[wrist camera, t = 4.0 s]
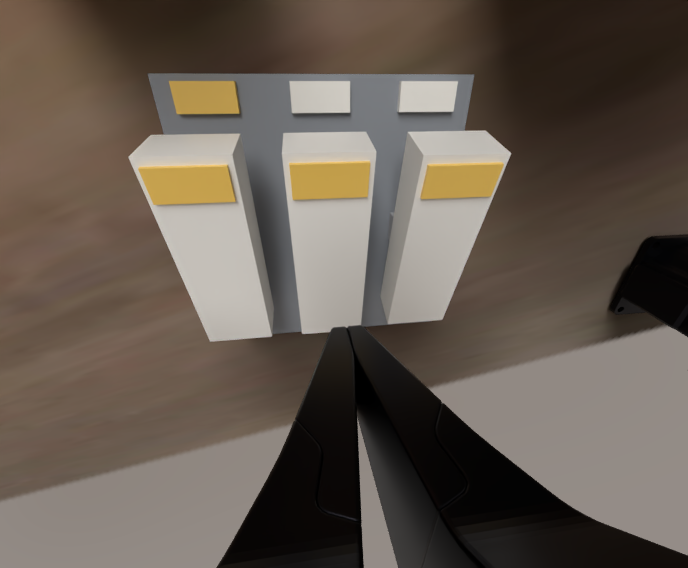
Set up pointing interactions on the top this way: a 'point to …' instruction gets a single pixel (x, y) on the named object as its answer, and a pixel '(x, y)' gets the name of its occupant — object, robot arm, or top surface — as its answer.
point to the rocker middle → (329, 223)
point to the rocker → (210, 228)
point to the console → (313, 116)
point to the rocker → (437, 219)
